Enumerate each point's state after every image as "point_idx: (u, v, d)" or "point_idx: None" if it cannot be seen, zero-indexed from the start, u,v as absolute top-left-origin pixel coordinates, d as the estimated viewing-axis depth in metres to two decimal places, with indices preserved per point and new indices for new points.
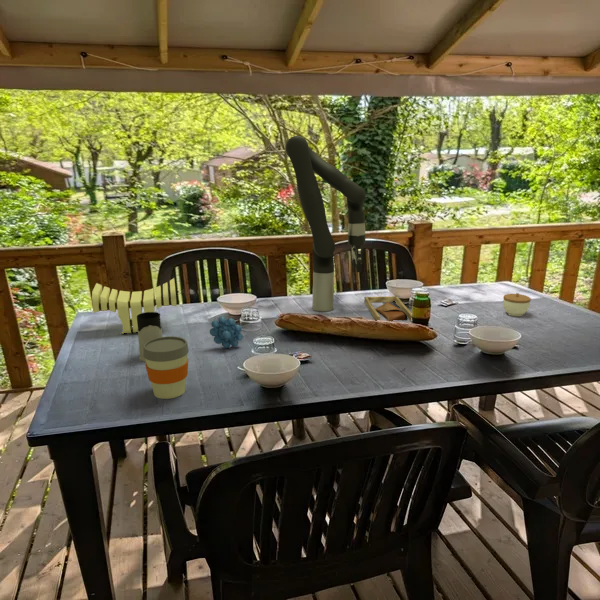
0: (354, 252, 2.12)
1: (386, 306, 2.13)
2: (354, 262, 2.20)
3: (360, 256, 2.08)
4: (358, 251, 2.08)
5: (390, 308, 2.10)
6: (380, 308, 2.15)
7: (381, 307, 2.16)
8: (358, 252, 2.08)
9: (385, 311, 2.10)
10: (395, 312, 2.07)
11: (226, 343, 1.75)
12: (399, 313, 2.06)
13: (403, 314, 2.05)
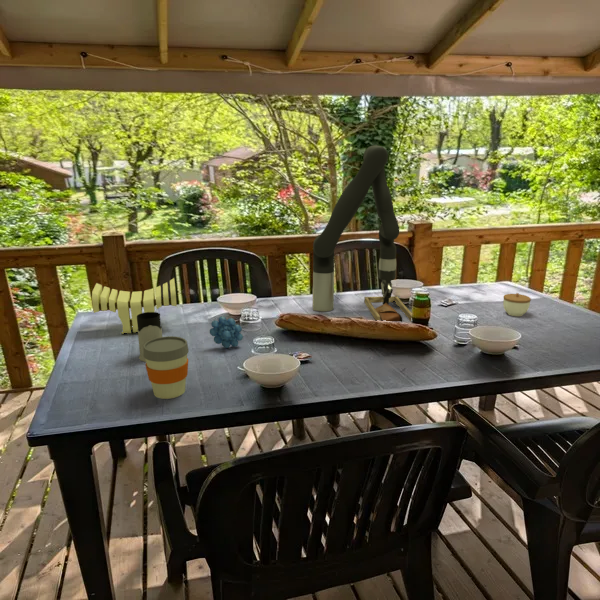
0: (384, 287, 2.17)
1: (383, 307, 2.12)
2: None
3: (389, 294, 2.15)
4: (388, 291, 2.13)
5: (386, 309, 2.08)
6: (377, 309, 2.14)
7: (378, 308, 2.15)
8: (388, 292, 2.13)
9: (381, 312, 2.08)
10: (390, 313, 2.05)
11: (226, 343, 1.75)
12: (394, 314, 2.04)
13: (398, 316, 2.03)
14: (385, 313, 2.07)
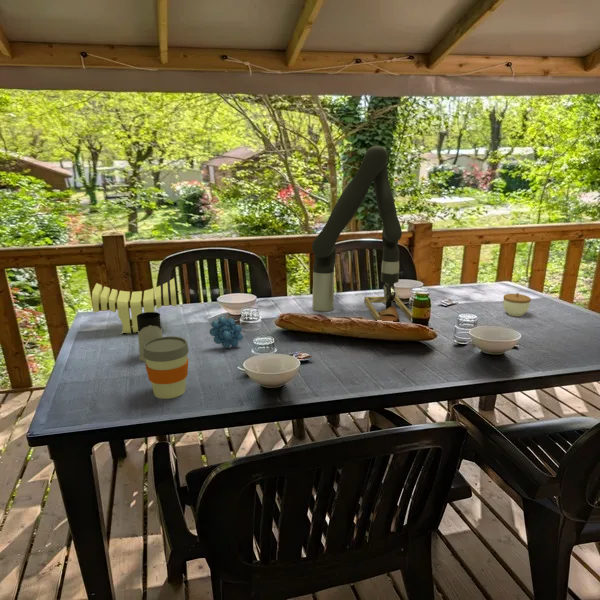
0: (386, 291, 2.12)
1: (386, 310, 2.08)
2: None
3: (392, 298, 2.10)
4: (391, 295, 2.08)
5: (388, 313, 2.04)
6: (381, 312, 2.11)
7: (383, 311, 2.11)
8: (391, 295, 2.08)
9: (382, 315, 2.05)
10: (390, 317, 2.01)
11: (226, 343, 1.75)
12: (392, 318, 1.99)
13: (396, 320, 1.98)
14: (385, 316, 2.03)
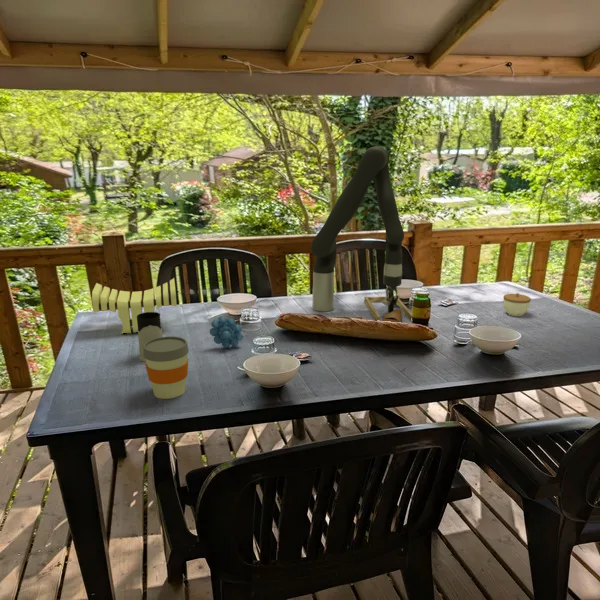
0: (389, 294, 2.07)
1: (390, 313, 2.04)
2: None
3: (394, 301, 2.05)
4: (394, 298, 2.03)
5: (391, 316, 2.00)
6: (386, 315, 2.06)
7: (388, 314, 2.07)
8: (393, 299, 2.04)
9: (385, 318, 2.01)
10: (392, 320, 1.97)
11: (226, 343, 1.75)
12: None
13: None
14: (388, 319, 1.99)
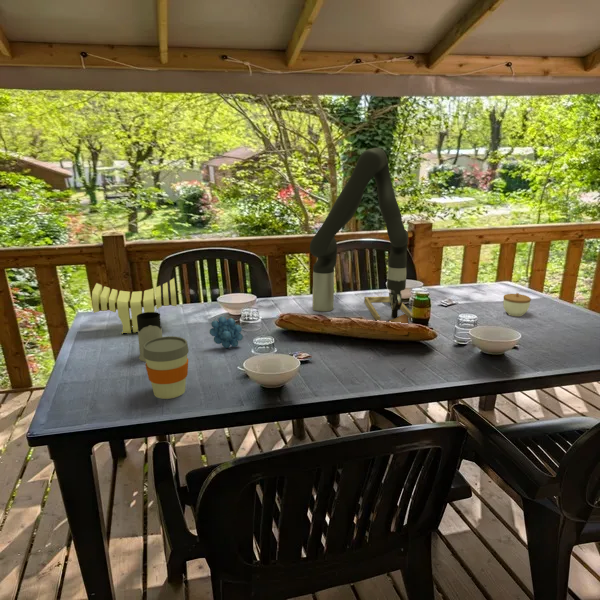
0: (393, 298, 2.01)
1: (396, 318, 1.97)
2: None
3: (398, 306, 1.99)
4: (398, 303, 1.97)
5: (397, 321, 1.94)
6: (392, 320, 2.00)
7: (394, 319, 2.01)
8: (397, 303, 1.97)
9: None
10: None
11: (226, 343, 1.75)
12: None
13: None
14: None
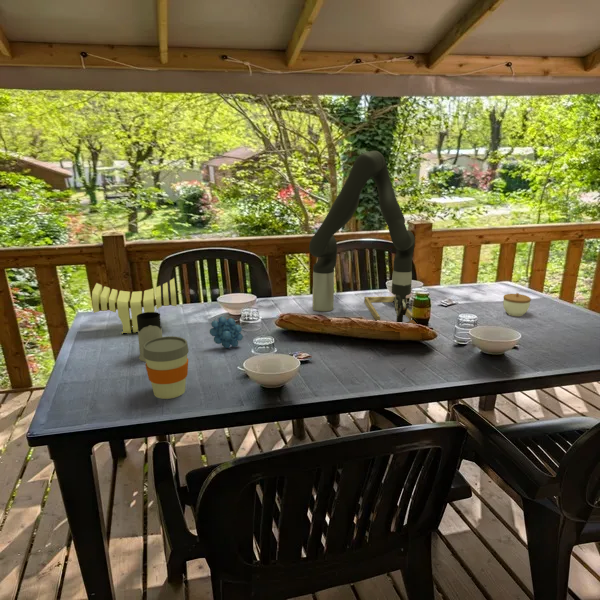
0: (398, 303, 1.93)
1: None
2: None
3: (404, 311, 1.91)
4: (403, 308, 1.90)
5: None
6: None
7: None
8: (403, 309, 1.90)
9: None
10: None
11: (226, 343, 1.75)
12: None
13: None
14: None
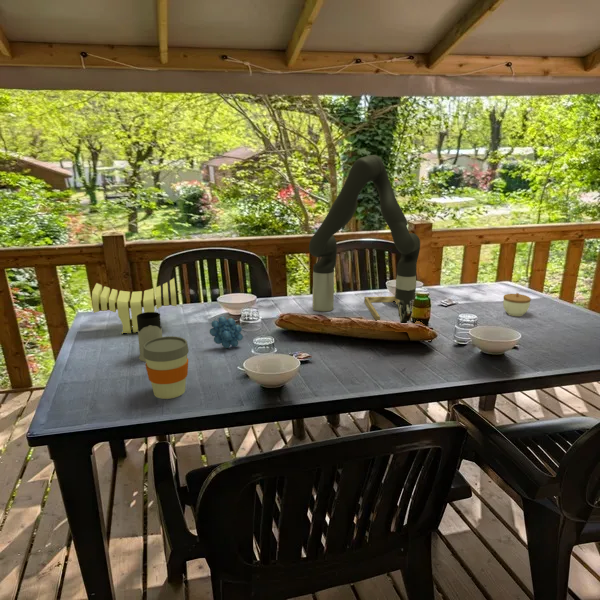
0: (401, 309, 1.87)
1: None
2: None
3: (408, 317, 1.85)
4: (407, 314, 1.83)
5: None
6: None
7: None
8: (407, 314, 1.84)
9: None
10: None
11: (226, 343, 1.75)
12: None
13: None
14: None
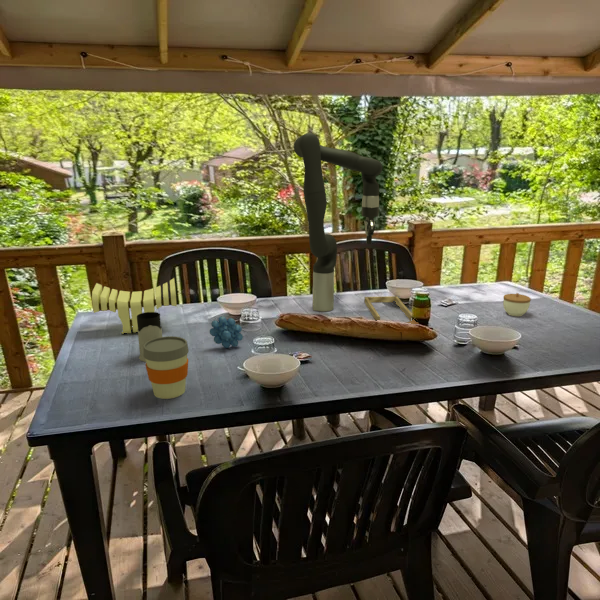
0: (367, 225, 2.21)
1: None
2: None
3: (372, 231, 2.19)
4: (371, 227, 2.18)
5: None
6: None
7: None
8: (370, 228, 2.18)
9: None
10: None
11: (226, 343, 1.75)
12: None
13: None
14: None
